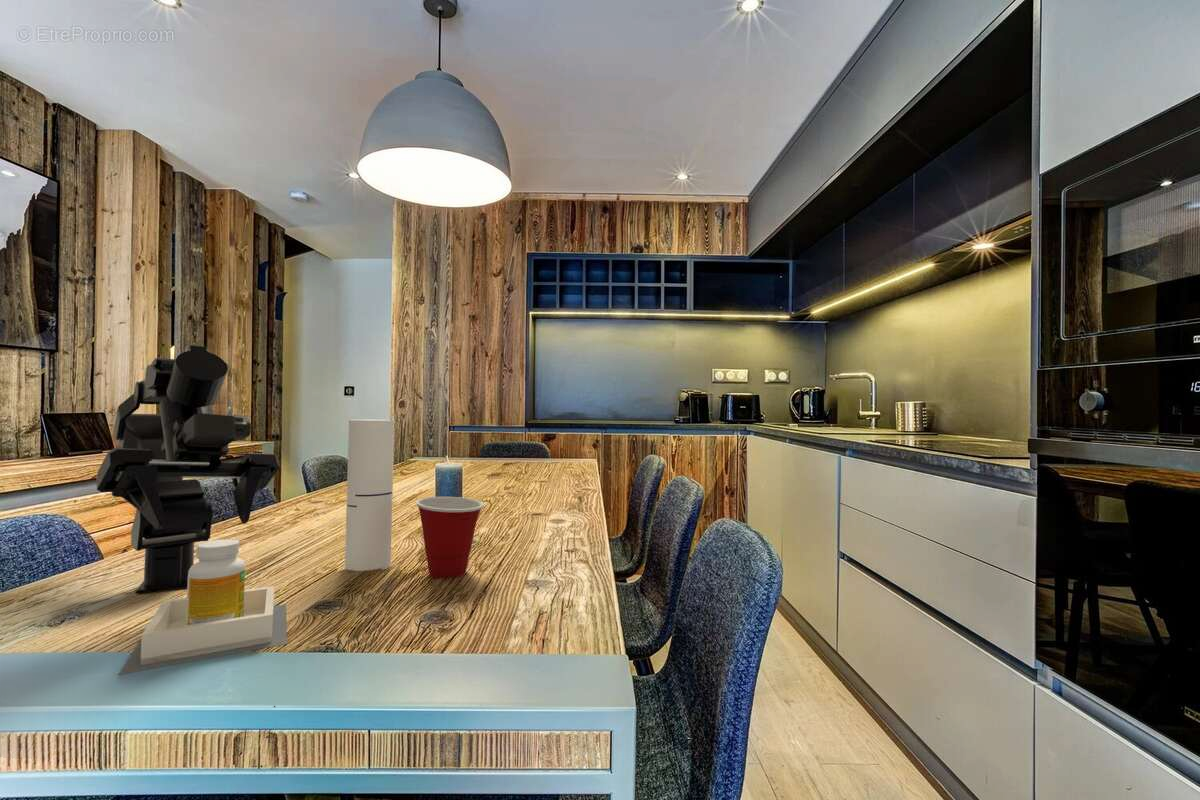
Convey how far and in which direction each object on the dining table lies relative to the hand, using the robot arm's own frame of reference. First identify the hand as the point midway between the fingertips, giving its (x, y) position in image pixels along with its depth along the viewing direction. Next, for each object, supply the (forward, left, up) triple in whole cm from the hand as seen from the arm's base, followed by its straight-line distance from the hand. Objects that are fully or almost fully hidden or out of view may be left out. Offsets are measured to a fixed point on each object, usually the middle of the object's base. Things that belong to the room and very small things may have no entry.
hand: (205, 524), depth 67 cm
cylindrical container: (-14, +21, -12) cm, 28 cm away
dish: (+8, +2, -11) cm, 14 cm away
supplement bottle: (+8, +2, -11) cm, 14 cm away
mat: (+8, +2, -12) cm, 14 cm away
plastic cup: (-4, +32, -12) cm, 34 cm away
